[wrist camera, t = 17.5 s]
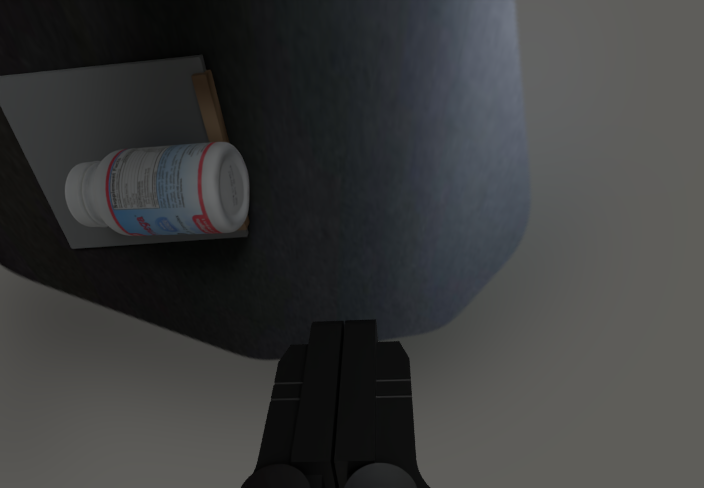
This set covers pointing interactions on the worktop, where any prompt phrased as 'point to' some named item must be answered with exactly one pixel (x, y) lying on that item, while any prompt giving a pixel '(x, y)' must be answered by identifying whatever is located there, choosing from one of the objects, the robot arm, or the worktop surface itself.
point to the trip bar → (211, 112)
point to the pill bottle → (162, 190)
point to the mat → (102, 127)
